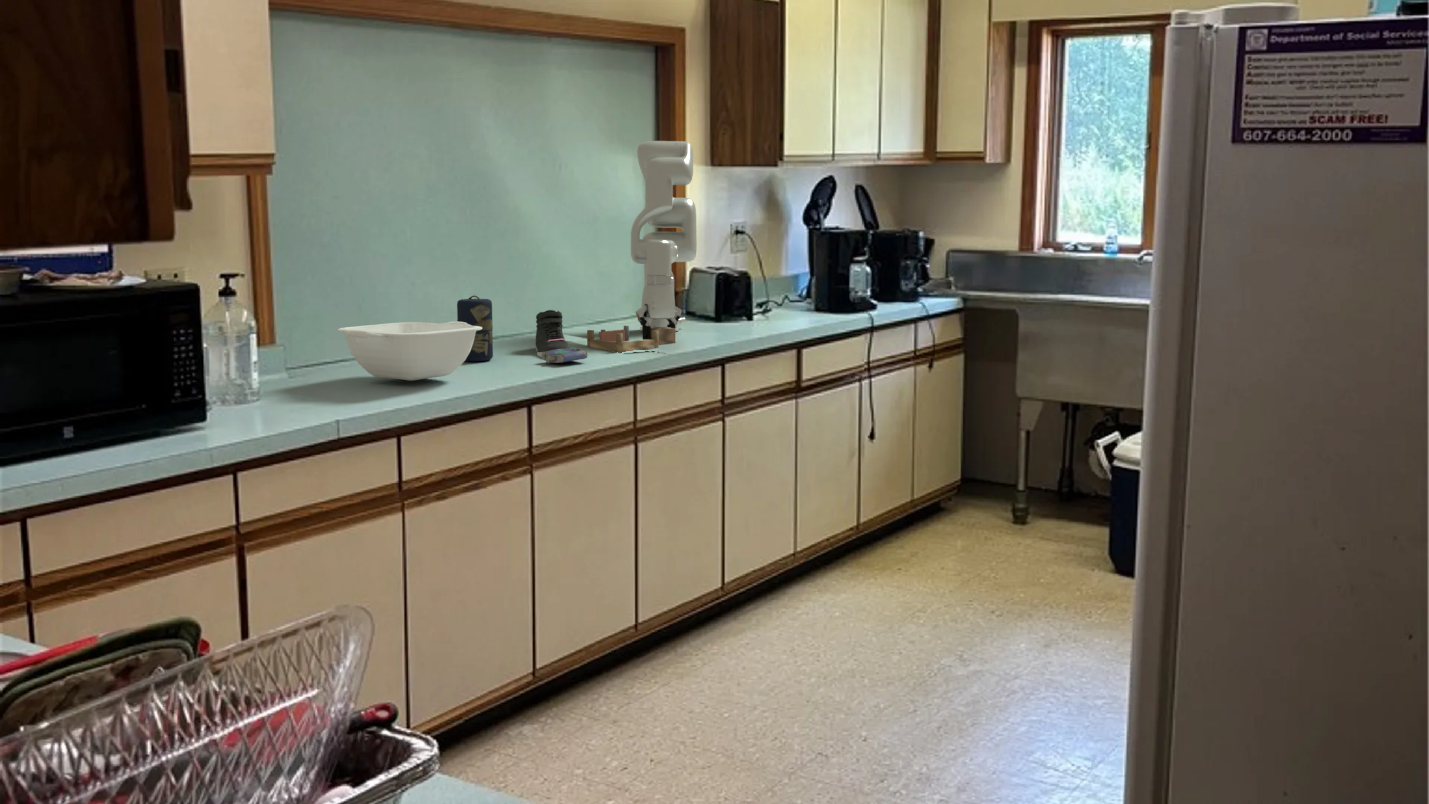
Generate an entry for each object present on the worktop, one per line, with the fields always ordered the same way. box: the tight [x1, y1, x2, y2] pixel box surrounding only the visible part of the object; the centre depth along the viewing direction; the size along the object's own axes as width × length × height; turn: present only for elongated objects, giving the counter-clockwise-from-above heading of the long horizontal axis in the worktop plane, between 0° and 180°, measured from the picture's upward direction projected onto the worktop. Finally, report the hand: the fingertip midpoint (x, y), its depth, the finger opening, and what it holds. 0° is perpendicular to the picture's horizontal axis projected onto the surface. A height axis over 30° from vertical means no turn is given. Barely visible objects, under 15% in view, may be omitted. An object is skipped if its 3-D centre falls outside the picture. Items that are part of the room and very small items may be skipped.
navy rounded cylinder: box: [456, 295, 494, 363], centre depth 376 cm, size 10×10×18 cm
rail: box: [598, 325, 630, 341], centre depth 410 cm, size 12×2×6 cm, turn 143°
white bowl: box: [337, 321, 482, 381], centre depth 342 cm, size 34×28×13 cm
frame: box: [586, 329, 660, 354], centre depth 405 cm, size 16×16×6 cm
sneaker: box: [535, 309, 570, 358], centre depth 391 cm, size 10×26×13 cm, turn 19°
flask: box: [541, 347, 589, 364], centre depth 374 cm, size 9×3×11 cm
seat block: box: [642, 327, 676, 346], centre depth 414 cm, size 7×7×6 cm
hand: (659, 338), depth 414 cm, fingers open, 9 cm apart
